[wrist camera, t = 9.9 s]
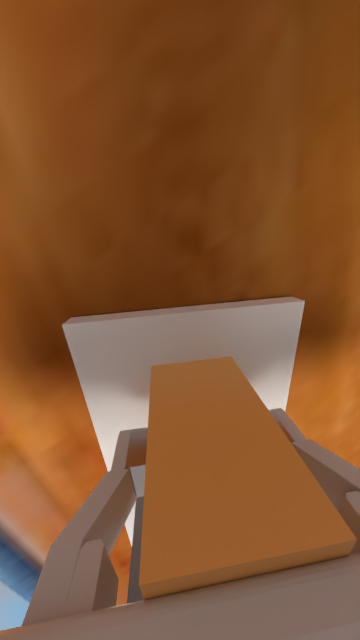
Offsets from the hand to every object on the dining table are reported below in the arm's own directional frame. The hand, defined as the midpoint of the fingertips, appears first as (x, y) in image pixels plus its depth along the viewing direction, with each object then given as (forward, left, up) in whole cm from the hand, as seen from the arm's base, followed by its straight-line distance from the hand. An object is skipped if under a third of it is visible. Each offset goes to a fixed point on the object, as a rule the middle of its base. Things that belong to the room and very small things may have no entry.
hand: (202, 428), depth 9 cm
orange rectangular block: (0, 0, -2) cm, 2 cm away
